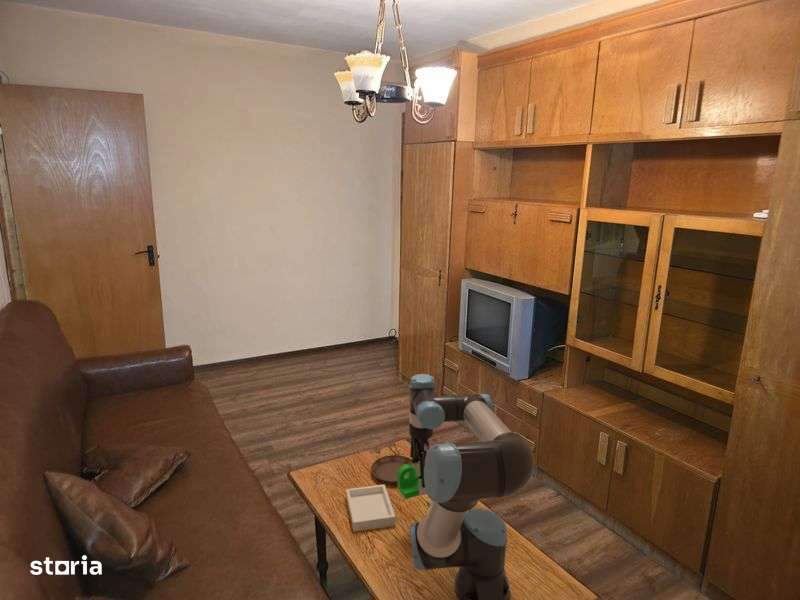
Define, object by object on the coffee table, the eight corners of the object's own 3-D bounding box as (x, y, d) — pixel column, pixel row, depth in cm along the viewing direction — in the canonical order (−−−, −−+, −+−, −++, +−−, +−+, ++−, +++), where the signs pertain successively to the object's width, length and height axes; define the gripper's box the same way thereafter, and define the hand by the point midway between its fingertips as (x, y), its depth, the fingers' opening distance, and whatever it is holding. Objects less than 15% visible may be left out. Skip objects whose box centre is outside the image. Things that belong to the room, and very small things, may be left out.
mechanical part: (405, 499, 161) (405, 476, 159) (397, 488, 166) (397, 466, 164) (438, 489, 166) (439, 467, 164) (430, 479, 171) (430, 458, 169)
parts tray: (395, 525, 171) (395, 516, 170) (353, 531, 168) (353, 522, 167) (384, 492, 188) (384, 484, 187) (346, 497, 184) (345, 489, 184)
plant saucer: (364, 482, 194) (364, 475, 193) (379, 458, 210) (379, 451, 209) (409, 491, 189) (409, 484, 188) (421, 465, 205) (422, 458, 204)
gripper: (444, 437, 152) (441, 504, 158) (422, 407, 170) (421, 468, 176) (419, 440, 150) (418, 508, 156) (401, 410, 168) (400, 472, 174)
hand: (419, 487), depth 166 cm, fingers closed on mechanical part, 6 cm apart
